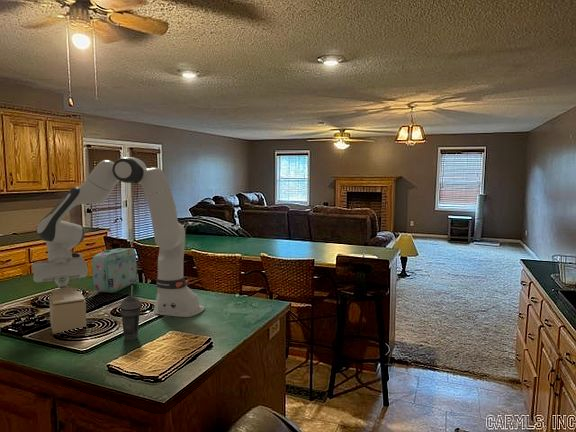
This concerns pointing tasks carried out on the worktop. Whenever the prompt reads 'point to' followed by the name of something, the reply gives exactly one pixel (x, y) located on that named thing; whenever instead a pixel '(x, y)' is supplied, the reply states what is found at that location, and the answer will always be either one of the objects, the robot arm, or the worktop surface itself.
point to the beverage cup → (130, 316)
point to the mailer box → (67, 316)
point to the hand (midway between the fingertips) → (62, 287)
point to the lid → (66, 295)
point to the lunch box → (114, 269)
